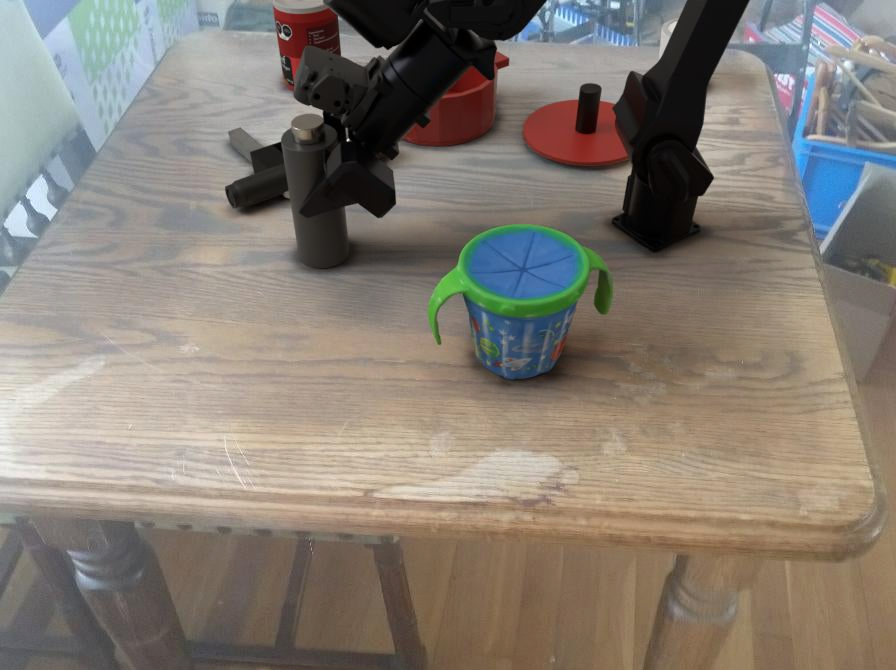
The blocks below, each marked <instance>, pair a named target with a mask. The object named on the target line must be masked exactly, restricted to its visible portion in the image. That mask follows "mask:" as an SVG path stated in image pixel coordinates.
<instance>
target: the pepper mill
mask: <svg viewBox="0 0 896 670" xmlns="http://www.w3.org/2000/svg"><path fill="white" fill-rule="evenodd" d="M280 142H281V144H282V151H283V157H284V164H285V170H286V177H287V183H288V190H289V196H290V198H289V200H290V201H289V202H290V208H291V215H292V221H293V228H294V234H295V235H294V236H295V242H296V247H297V254H298V255H297V256H298V258H299V260H300V262H301V263H302V264H304V265H305V266H307V267H310V268H314V269H329V268H334V267H336V266H339V265H340V264H342V263H343V262H344V261H346V260H347V259H348V257H349V255H350V243H349V233H348V224H347V213H346V206H345V207H342V208H338V209H335V210H332V211H329V212H326V213H323V214H320V215H316V216H313V217H310V218H305V217H304V216H302V215H301V214H300V213H299V209H300V207H301V205H302V204H303V202H304V200H305V199H306V197H307V196H308V194H309V193H310V191H311V190H312V189H313V187H314V186H315V184H316V183H317V181H318V180H319V178H320V177H321V175H322V174H323V172H324V171H325V169H324V156H323V150H324V148H325V149H326V150H327V151H329V152H330V153H331V152H332V151H333V150H334V148H335V147H336V146H337V145H338V144H339V143H338V134H337V132H336V130H335V129H334V128H333V127H331V126H329V125H326V124H324V119H323V116H321V115H319V114H316V113H303V114H302V113H301V114H299V115H297V116H295V117H294V118H292V120H291V121H290V127H289V128H288V129H287V130H286V131H285V132H283V134H282V135H281V137H280Z"/></svg>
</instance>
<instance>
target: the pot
mask: <svg viewBox="0 0 896 670" xmlns="http://www.w3.org/2000/svg"><path fill="white" fill-rule="evenodd" d="M494 66H495V78H494V79H493V80H491V81H489V80H487V79H486V78H485V77H484V76H483V75H482V74H481V73H480V72H478V71H477V70H476V69H475V68H474V67H473V66H472V67H471V68H470V69H469V70H468V71H467V72H466V73H465V74H464V75H463V76H462V77H461V78H460V79H459V80H458V81H457V82H456V83H455V84H454V85H453V87H452V88H451V89H450V90H449V91H448V92H447V93H446V94H445V95H444V96H443V97H442V98H441V99H440V100H439V101H438V102H437V103H436V104H435V105H434V106H433V107H432V108H431V109H430V110H429V113H430V118H431V121H430V122H429V123H428V124H427V125H426V126H425V128H424V129H423V128H422V127H420V126H419V125H418V124H416V125H415V126H414V127H413V128H412V129H411V130H410V131H409V132H408V133H407V134H406V135H405V136H404V137H403V138H402V139H401V141H405V142H408V143H412V144H416V145H422V146H426V147H427V146H430V147H447V146H456V145H459V144H460V145H461V144H464V143H467V142H470V141H473V140H475V139H478V138H480V137H481V136H483V135H485V134H486V133H487V132H488V131H489V130H491V128H492V126H493V125H494V123H495V118H496V113H497V96H498V95H497V94H498V74H499V73H498V72H499V70H502V69H504V68H507V67H509V66H510V57H508V56H507V55H505V54H504V53H502V52H500V51H499V50H497V52H496V55H495V65H494Z"/></svg>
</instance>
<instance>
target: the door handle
mask: <svg viewBox="0 0 896 670" xmlns="http://www.w3.org/2000/svg"><path fill="white" fill-rule="evenodd" d="M227 133H228V138H229V143H230V145H231V146H232V147H233V148H235V150H237V152H239V153H240V154H241V155H242V156H243V157H244V158H245V159H246V160H248V161H249V162H250V163H251V164H252V165H251V166H252V170H253V174H251V175H247V176H245V177H242V178H239V179H237V180H234V181H233V182H232V183H231V184H228V185H225V186H224V192H225V196H226V198H227V201H228V203H229V205H230V206H231V208H232V209H233V210H234V209H239V208H240V209H241V208H243V209H244V208H249V207H251V206H253V205H256V204H259V203H262V202H265V201H267V200H271V199H273V198H275V197H278V196H281V195H282V196H283V197H284V198H285V199H290V196H289V190H288V183H287V177H286V170H285V164H284V157H283V151H282V144H281V141H278V142H275V143H272V144H269V145H267V146H263V145H262V144H261V143H260V142H258V140H256V139H255V138H254V137H253V136H252V135H250V133H248V132H247V131H246V130H245V129H243V128H242V127H241V126H239V127H237V128H234V129H231V130H228V131H227ZM377 155H378V159H379V160H380V159H382V158H384V157H386V156H385V155H384V154H383V153H380V154H377Z"/></svg>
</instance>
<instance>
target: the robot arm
mask: <svg viewBox="0 0 896 670" xmlns="http://www.w3.org/2000/svg"><path fill="white" fill-rule="evenodd" d="M750 1H751V0H686V2H685V3H684V6H683V8H682V11H681V12H680V15H679V17H678V18H679V19H678V21H677V24H676V26H675V28H674V30H673V32H672V35H671V37H670V39H669V41H668V44H667V46H666V48H665V50H664V52H663V55H662V57H661V58H660V60H659V59H658V61H657V62H656V63H655V64H654V65H653V66H652V67H651V68H650V69H648V70H647V71H646V72H645V73H644V74H642V73H639V72H637V71H634V70H631V71H629V73H628V75H627V77H626V80H625V84H624V88H623V90H622V94H621V96H620V97H619V99H618V100H617V101H616V103H614V104H615V105H614V106H613V107H612V109H613V111H614V113H615V115H616V119H615V128H616V132H617V134H618V136H619V138H620V140H621V142H622V144H623V146H624V149H625V151H626V153H627V155H628V157H629V159H628V160H629V161H630V164H631V170H630V174H629V175H627V180H626V185H625V190H624V196H623V203H622V206H621V207H622V208H621V209H622V211H623V212H622V213H620V214H618V215H615V216H613V217H612V218H611V222H610V223H611V224H612V225H613V226H614V227H616V228H617V229H618V230H620V231H621V232H622V233H624V234H626V235H627V236H629V237H630V238H631V239H633V240H634V241H636V242H637V243H639V244H640V245H641V246H643V247H644V248H646V249H647V250H649V251H650V252H652V253H657V252H660V251H662V250H664V249H666V248H669V247H671V246H672V245H675V244H677V243H680V242H681V241H684V240H686V239H688V238H690V237H692V236H695V235H696V234H699V233H700V232H701V230H702V226H701V225H700V224H699V223H697V222H695V221H694V215H695V212H696V208H697V203H698V200H699V197H703V196H704V195H705V194H706V192H707V191H708V189H709V188H710V186H711V184H712V183H713V182H714V179H715V176H714V174H713V172H712V171H711V168H710V167H709V166H708V164H707V162H706V161H705V159H704V158H703V155H702V154H701V152H700V150H699V149H698V147H697V145H698V142H699V139H700V136H701V134H702V131H703V128H704V123H705V122H704V121H705V113H706V106H707V98H708V97H707V96H708V88H709V84H710V81H711V79H712V77H713V75H714V73H715V72H716V69H717V67H718V65H719V64H720V62H721V60H722V57H723V56H724V53H725V51H726V50H727V47H728V45H729V43H730V41H731V39H732V38H733V36H734V33H735V31H736V30H737V28H738V25H739V23H740V21H741V20H742V17H743V16H744V13H745V11H746V10H747V8H748V5H749V4H750ZM547 2H548V0H323V3H324V4H325V5H326V6H327V7H328V8H329V9H331V10H332V11H333V12H334V13H335V14H336V15H338V18H340V19H341V20H342V21H343V22H344V23H345V24H347V26H349V27H350V28H351V29H352V30H354V31H355V33H357V34H358V35H359V36H361V38H363V39H364V40H365V41H366V42H367V43H369V45H371V46H372V47H373V48H374V49H381V48H384V49H385V50H387V51H390V50H391V49H392V48H394V47H395V48H394V49H393V51H392V52H391V53H390V54H389V55H388V56H387V57H386V58H384V57H383V56H381V55H380V54H379V55H378V56H377V57H375V56H373V57H372V58H371V59H370V61H368V63H367V64H366V65H364V66H363V65H362V64H359V63H356V62H354V61H353V60H352V59H349V58H347V57H344V56H342V55H341V56H339V55H336V54H334V53H331V52H328V51H325V50H323V49H320V48H317V47H314V46H305V48H304V51H303V54H302V57H301V60H300V63H299V66H298V69H297V72H296V75H295V78H294V91H293V97H294V99H295V100H296V101H297V102H298V103H300V104H302V105H305V106H307V107H310V106H311V107H312V108H315V109H318V110H321V111H322V118H323V119H324V124H326V125H329V126H331V127H333V128H334V129H335V130H336V132H337V134H338V143H339V144H338V145H337V146H336V147H335V148H334V150H333V151H332V152H331V153H330V152H329V151H327V150H326V149H325V148H324V150H323V156H324V169H325V171H324V172H323V174H322V175H321V177H320V178H319V180H318V181H317V183H316V184H315V186H314V187H313V189H312V190H311V191H310V193H309V194H308V196H307V197H306V199H305V200H304V202H303V204H302V205H301V207H300V209H299V213H300V214H301V215H302V216H304V217H305V218H310V217H313V216H316V215H320V214H323V213H326V212H329V211H332V210H335V209H338V208H342V207H345V208H346V207H350V206H353V205H357V204H358V205H359V206H360V207H361V208H363V209H365V210H366V211H367V212H368V213H370V214H371V215H373V216H374V217H376V219H383V218H384V217H385V216H386V215H387V214H388V213H389V212H390V211H391V210H392V209H393V208H394V207H395V206H396V205H397V194H396V193H397V192H396V184H395V175H394V170H393V169H392V168H391V167H389V166H388V165H387V164H386V163H384V162H383V161H382V160H381V159H380V158H379V159H378V155H377V154H380V153H383V154H384V155H385V156H384V157H386V158H388V159H389V160H390V161H394V160H395V158H396V157H398V156H399V154H400V147H399V146H400V145H399V143H400V142H401V141H402V138H403V137H404V136H405V135H406V134H407V133H408V132H409V131H410V130H411V129H412V128H413V127H414V126H415V125H416V124H418V125H419V126H420V127H422V128H423V129H424V128H425V126H426V125H427V124H428V123H429V122H430V121H431V118H430V113H429V110H430V109H431V108H432V107H433V106H434V105H435V104H436V103H437V102H438V101H439V100H440V99H441V98H442V97H443V96H444V95H445V94H446V93H447V92H448V91H449V90H450V89H451V88H452V87H453V85H454V84H455V83H456V82H457V81H458V80H459V79H460V78H461V77H462V76H463V75H464V74H465V73H466V72H467V71H468V70H469V69H470V68H471V67H472V66H473V67H474V68H475V69H476V70H477V71H478V72H480V73H481V74H482V75H483V76H484V77H485V78H486V79H487V80H489V81H491V80H493V79H494V78H495V66H494V65H495V55H496V52H497V51H498V47H497V43H496V41H502V42H506V41H508V40H511V39H513V38H514V37H515V36H517V35H519V34H520V33H522V32H523V30H524V29H525V28H526V27H527V26H528V25H529V24H530V23H531V21H532V20H533V19H534V18H535V16H536V15H537V14H538V13H539V11H540V10H541V9H542V8H543V7H544V6H545V4H546V3H547Z"/></svg>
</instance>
